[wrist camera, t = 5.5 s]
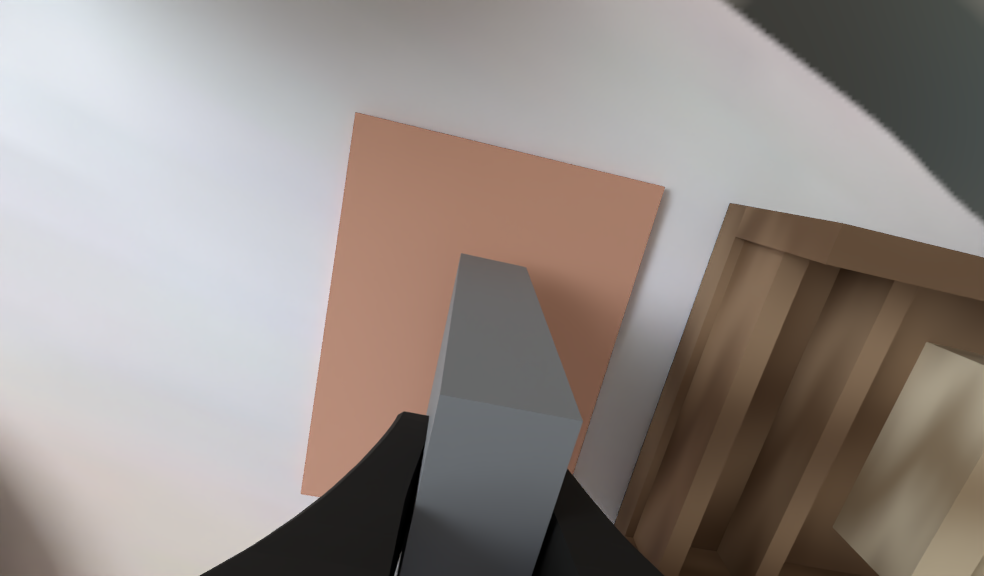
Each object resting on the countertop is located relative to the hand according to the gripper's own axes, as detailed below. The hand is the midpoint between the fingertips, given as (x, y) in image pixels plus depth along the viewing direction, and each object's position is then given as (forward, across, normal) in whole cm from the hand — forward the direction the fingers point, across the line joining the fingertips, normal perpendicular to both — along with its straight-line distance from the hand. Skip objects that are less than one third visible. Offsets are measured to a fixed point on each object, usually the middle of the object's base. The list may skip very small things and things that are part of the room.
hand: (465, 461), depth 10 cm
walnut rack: (+6, -14, 0) cm, 16 cm away
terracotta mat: (+6, 0, 0) cm, 6 cm away
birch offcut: (+6, -16, 0) cm, 17 cm away
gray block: (+5, 0, 0) cm, 5 cm away
